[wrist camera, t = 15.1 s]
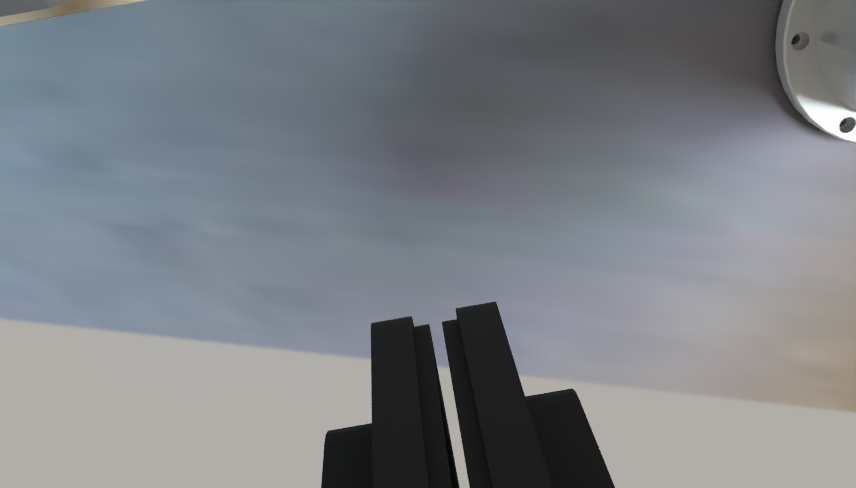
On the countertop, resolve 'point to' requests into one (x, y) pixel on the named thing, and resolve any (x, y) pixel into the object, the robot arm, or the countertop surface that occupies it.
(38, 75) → the countertop surface
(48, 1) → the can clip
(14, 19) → the mounting board
